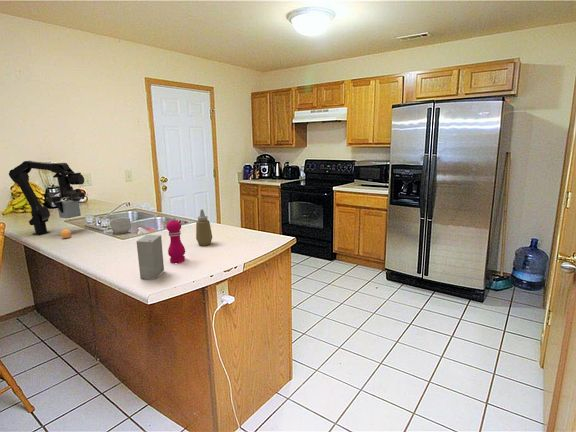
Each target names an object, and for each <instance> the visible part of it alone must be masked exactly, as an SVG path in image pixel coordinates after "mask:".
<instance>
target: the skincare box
mask: <svg viewBox="0 0 576 432" xmlns="http://www.w3.org/2000/svg"><path fill="white" fill-rule="evenodd" d="M162 241H163V240H162V235H161V234H145V235H144V236H142V237H141V238H139V239H138V240H136V249H137V258H138V268H139V276H140V277H139V278H140V280H141V279H142V280H157V278H158V277H160V275H161V274H163V273H164V272H165V267H164V266H165V265H164V255H163V254H164V253H163V242H162ZM143 278H144V279H143Z"/></svg>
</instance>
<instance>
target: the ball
mask: <svg viewBox="0 0 576 432" xmlns="http://www.w3.org/2000/svg"><path fill="white" fill-rule="evenodd" d="M71 236H72V231H71V230H69V229H67V228H65V229H62V230H61V231H60V237H61V238H63V239H68V238H70V237H71Z"/></svg>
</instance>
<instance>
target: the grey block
mask: <svg viewBox="0 0 576 432" xmlns="http://www.w3.org/2000/svg"><path fill="white" fill-rule="evenodd" d="M79 202H80V201H79ZM79 202H78V201H72V199H71V200H70V199H69V200H64V201H62V207H63V213H61V211H60V210H59V209H58V208H57V210H58V216H59V218H61V219H71V218H77V217H81V215H82V214H81V208H80V203H79Z"/></svg>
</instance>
